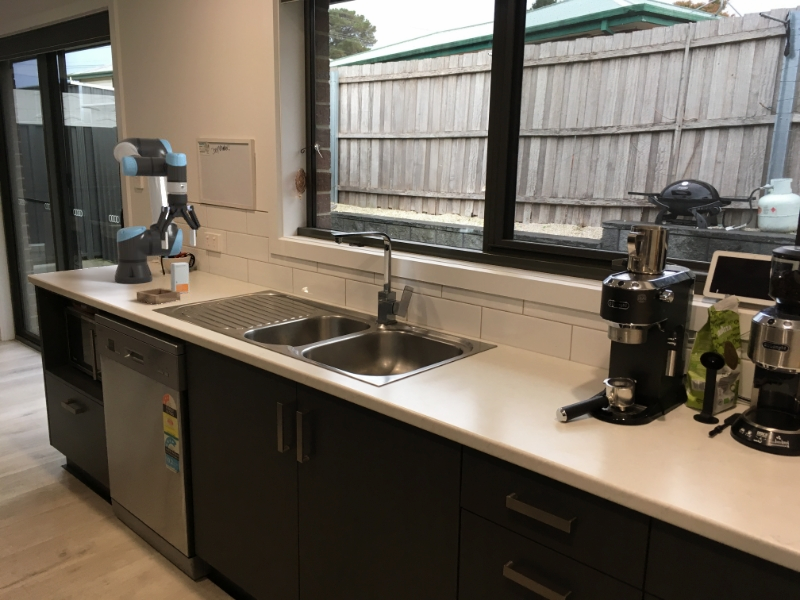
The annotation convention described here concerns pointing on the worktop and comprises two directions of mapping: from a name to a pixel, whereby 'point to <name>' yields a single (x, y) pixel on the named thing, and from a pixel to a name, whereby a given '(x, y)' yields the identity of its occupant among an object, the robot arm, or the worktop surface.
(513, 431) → the worktop surface
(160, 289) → the rectangular wooden frame
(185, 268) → the skincare box
